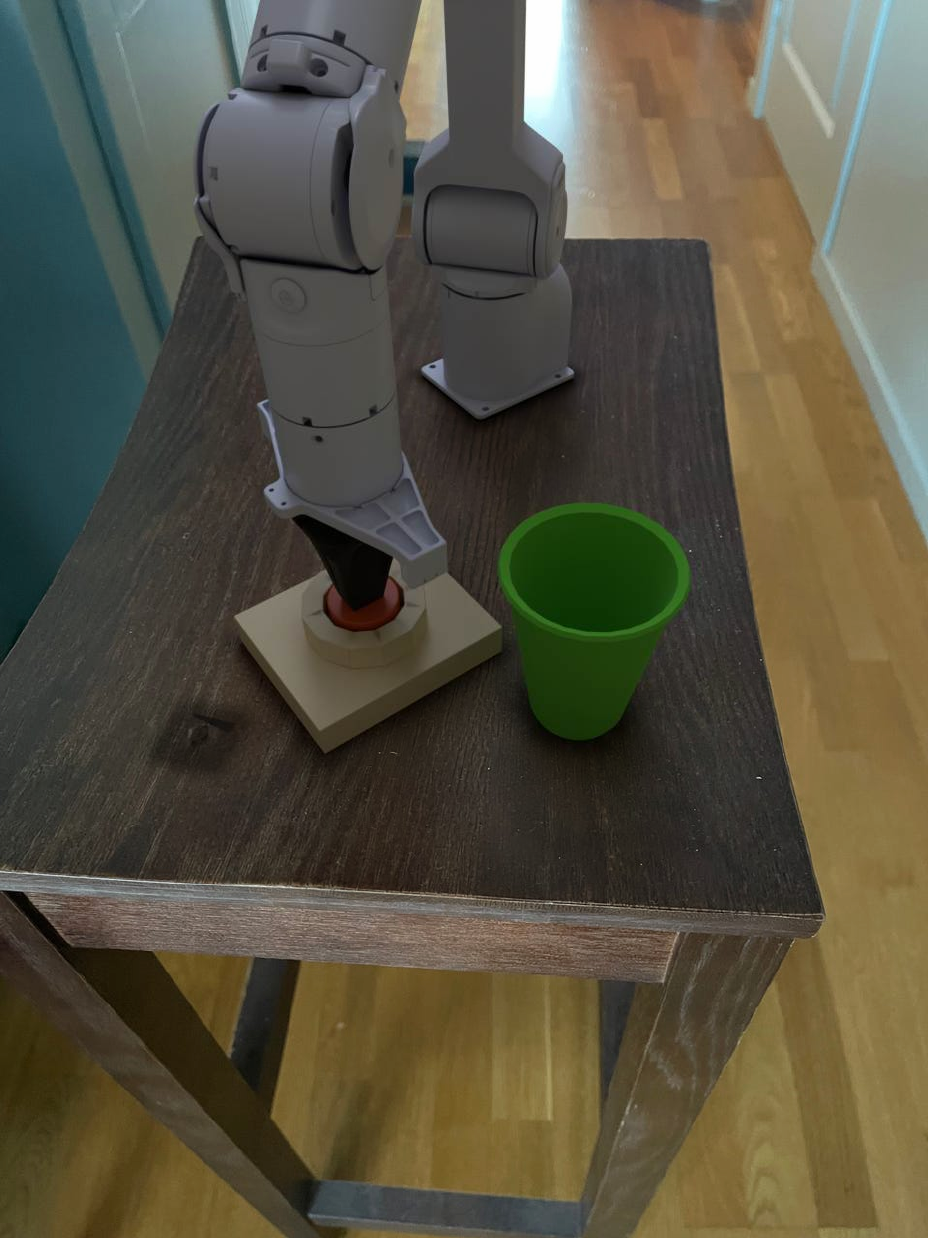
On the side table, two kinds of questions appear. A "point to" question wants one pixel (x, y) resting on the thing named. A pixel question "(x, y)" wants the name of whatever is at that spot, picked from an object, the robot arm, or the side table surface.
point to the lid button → (365, 610)
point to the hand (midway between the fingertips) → (362, 597)
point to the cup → (589, 609)
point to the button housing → (365, 652)
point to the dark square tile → (202, 730)
